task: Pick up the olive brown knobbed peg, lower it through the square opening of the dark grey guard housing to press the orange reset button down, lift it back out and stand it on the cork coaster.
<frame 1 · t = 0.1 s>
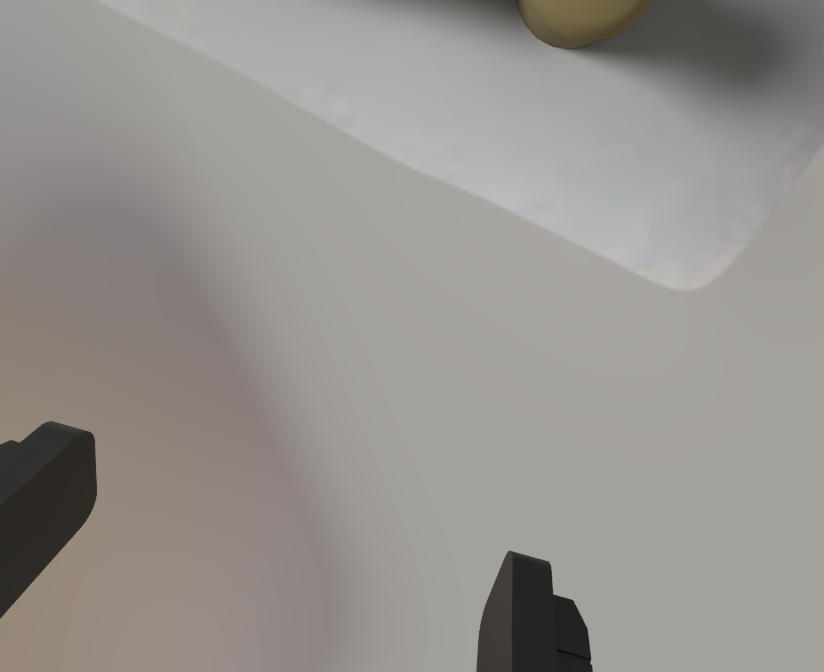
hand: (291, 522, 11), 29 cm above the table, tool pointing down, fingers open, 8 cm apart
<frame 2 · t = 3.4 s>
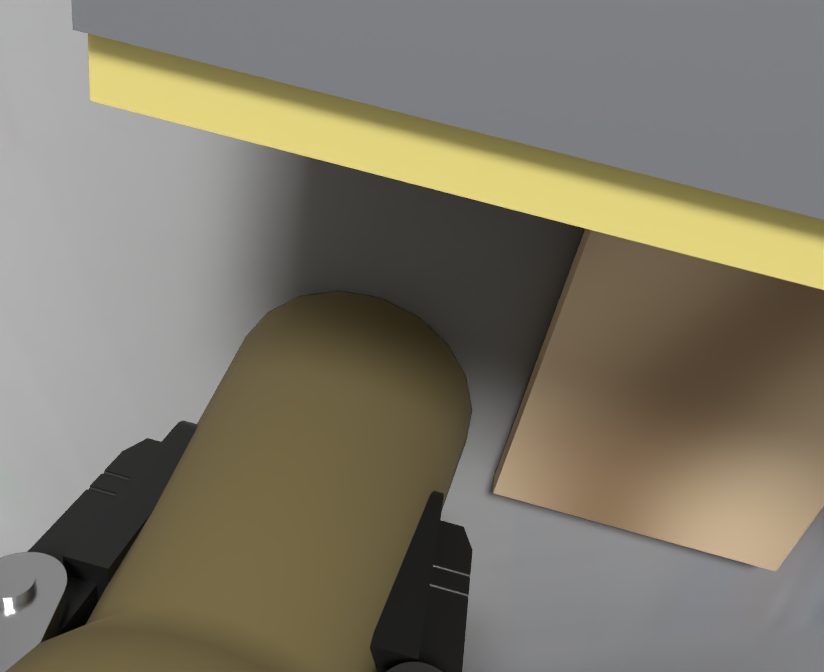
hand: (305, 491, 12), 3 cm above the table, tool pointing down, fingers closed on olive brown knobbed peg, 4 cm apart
olive brown knobbed peg: (352, 399, 15), on the table, touching gripper
cork coaster: (688, 402, 14), on the table
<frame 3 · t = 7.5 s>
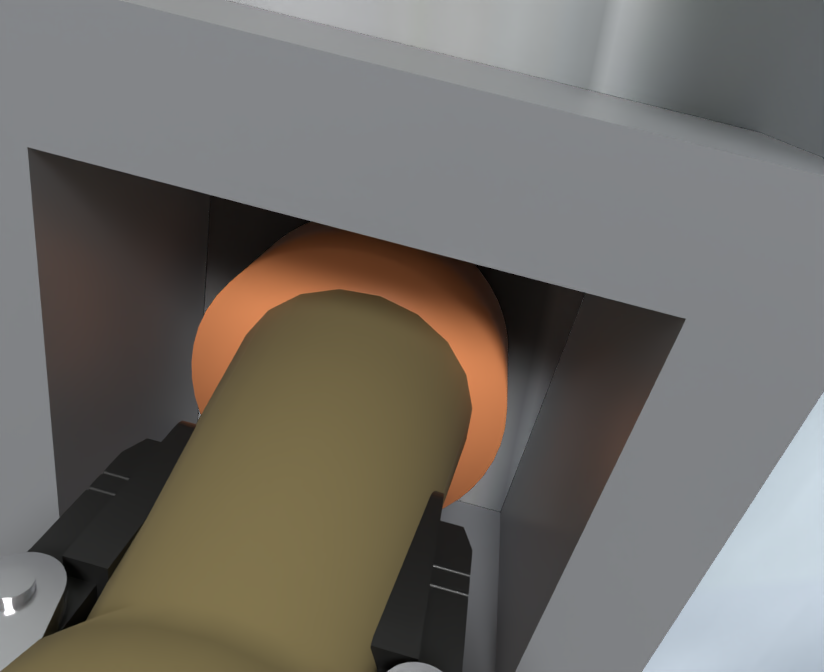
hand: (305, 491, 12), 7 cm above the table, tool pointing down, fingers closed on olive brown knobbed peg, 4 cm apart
guard housing: (376, 334, 18), on the table
reset button: (358, 372, 16), point 2 cm above the table, slide at 2.6 cm, touching olive brown knobbed peg
olive brown knobbed peg: (352, 397, 15), point 4 cm above the table, touching gripper, reset button
when the fingers open (5 cm above the table, at t = 12.5 s): olive brown knobbed peg moves 1 cm, resting on cork coaster.
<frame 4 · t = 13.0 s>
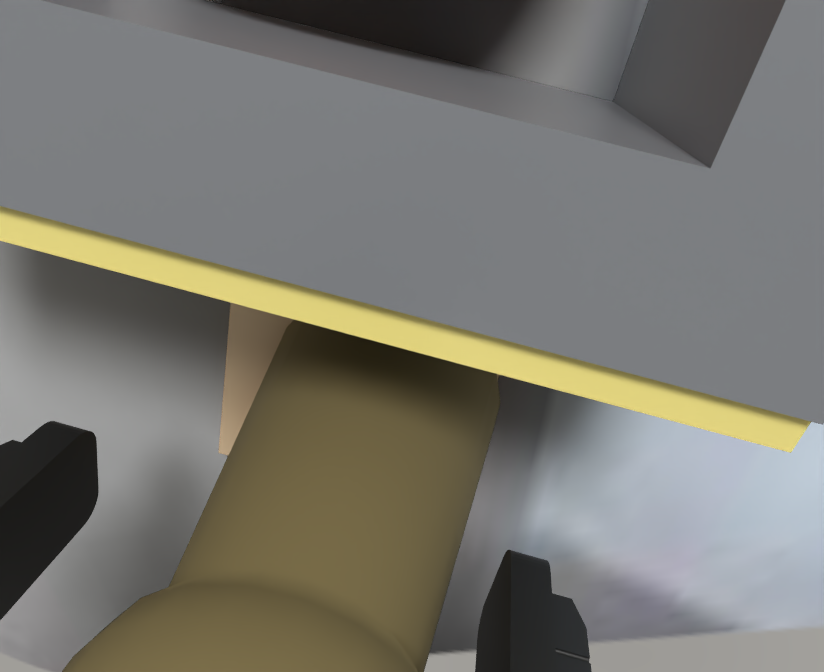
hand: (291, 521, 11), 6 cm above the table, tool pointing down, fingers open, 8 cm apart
olive brown knobbed peg: (385, 389, 16), resting on cork coaster
cork coaster: (359, 373, 16), on the table
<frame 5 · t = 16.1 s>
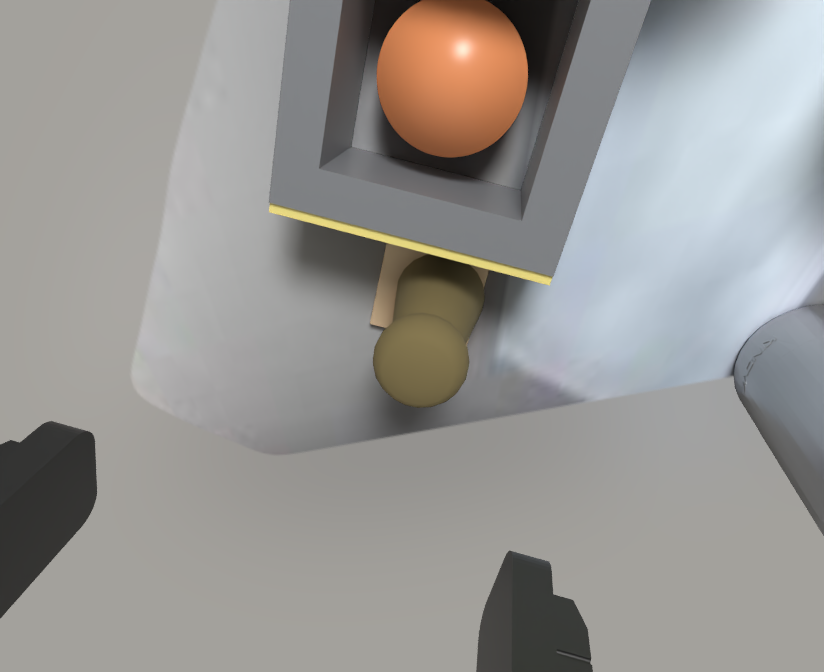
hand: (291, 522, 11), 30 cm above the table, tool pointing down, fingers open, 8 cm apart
guard housing: (457, 75, 35), on the table
reset button: (453, 77, 33), point 2 cm above the table, slide at 2.7 cm
olive brown knobbed peg: (440, 294, 41), resting on cork coaster
cork coaster: (429, 288, 41), on the table
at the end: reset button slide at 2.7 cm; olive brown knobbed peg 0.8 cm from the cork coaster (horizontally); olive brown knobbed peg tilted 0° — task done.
